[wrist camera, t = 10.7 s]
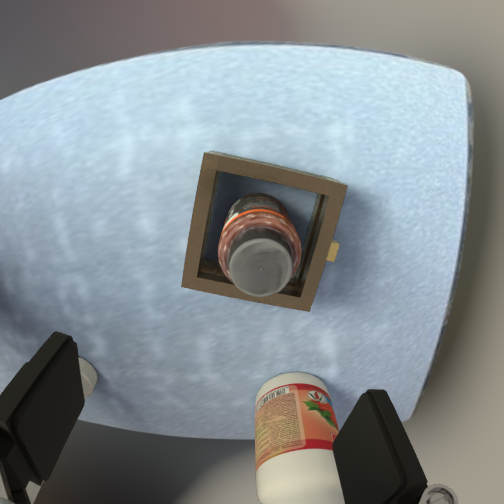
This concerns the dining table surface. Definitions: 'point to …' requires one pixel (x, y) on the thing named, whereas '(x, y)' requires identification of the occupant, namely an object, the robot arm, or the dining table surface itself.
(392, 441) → the robot arm
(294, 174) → the collar stand
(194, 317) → the dining table surface
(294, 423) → the fruit juice
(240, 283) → the supplement bottle
